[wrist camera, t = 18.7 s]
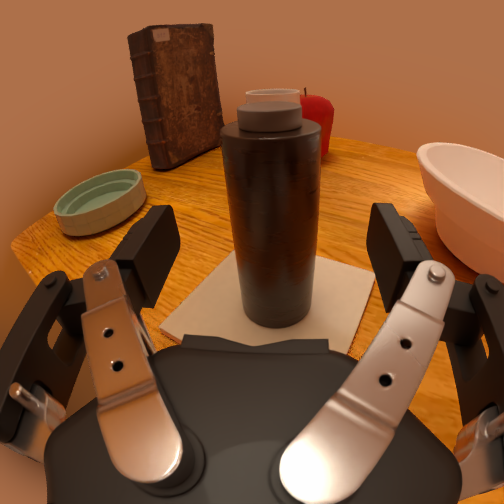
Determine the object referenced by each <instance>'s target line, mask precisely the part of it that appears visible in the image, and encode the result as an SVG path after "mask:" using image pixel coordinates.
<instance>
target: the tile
mask: <svg viewBox="0 0 504 504" xmlns="http://www.w3.org/2000/svg"><path fill="white" fill-rule="evenodd" d="M374 281H375V273H374V272H371V271H368V270H364V269H361V268H358V267H354V266H351V265H347V264H344V263H341V262H337V261H334V260H331V259H327V258H324V257H320V256H317V255H316V259H315V270H314V281H313V291H312V300H311V307H310V310H309V312H308V314H307V315H306V316H305V317H304V318H303V319H302V320H301V321H300V322H298V323H297V324H295V325H292V326H290V327H286V328H277V329H274V328H267V327H263V326H260V325H258V324H256V323H254V322H253V321H252V320H250V318H249V317H248V316H247V315H246V314H245V312H244V309H243V304H242V298H241V291H240V284H239V277H238V270H237V262H236V255H235V249H234V250H233V251H232V252H231V253H230V254H229V255H228V256H227V257H226V258H225V259H224V260H223V261H222V262H221V263H220V264H219V265H218V266H217V267H216V268H215V269H214V270H213V271H212V272H211V273H210V274H209V275H208V276H207V277H206V278H205V279H204V280H203V281H202V282H201V283H200V284H199V285H198V286H197V287H196V289H195V290H194V291H193V292H192V293H191V294H190V295H189V296H188V297H187V298H186V299H185V300H184V301H183V302H182V303H181V304H180V305H179V306H178V307H177V308H176V309H175V310H174V311H173V312H172V313H171V314H170V315H169V316H168V317H167V318H166V319H165V320H164V321H163V322H162V323H161V324H160V325H159V329H160V331H161V333H162V334H164V335H166V336H167V337H169V338H170V339H172V340H174V341H176V342H177V343H179V344H181V342H182V339H183V336H184V334H190V335H203V336H218V337H221V338H224V339H228V340H231V341H235V342H239V343H242V344H246V345H250V346H259V345H264V344H270V343H275V342H280V341H285V340H290V339H329V349H330V350H335V351H338V352H341V353H344V354H346V355H347V353H348V351H349V349H350V346H351V344H352V341H353V339H354V336H355V334H356V331H357V329H358V326H359V323H360V321H361V318H362V315H363V313H364V310H365V307H366V304H367V302H368V299H369V296H370V293H371V290H372V287H373V284H374Z"/></svg>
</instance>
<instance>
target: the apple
mask: <svg viewBox="0 0 504 504" xmlns="http://www.w3.org/2000/svg"><path fill="white" fill-rule="evenodd" d="M304 91H305V95H300V105H301V106H302V118H303V119H308V120H311V121H314V122H316V123H318V124H319V125H320V126H321V158H322V157H323V156H324V155H325V154H327V153H328V148H329V139H330V134H331V129H332V124H333V116H334V108H333V106H332V104H331V103H330V101H329V100H326V99H325V98H323V97H320V96H315V95H306V88H304Z"/></svg>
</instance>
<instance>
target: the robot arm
mask: <svg viewBox="0 0 504 504" xmlns="http://www.w3.org/2000/svg"><path fill="white" fill-rule="evenodd" d="M366 245H367V252H368V255H369V258H370V261H371V264H372V267H373V270H374V273H375V277H376V280H377V283H378V286H379V290H380V293H381V297H382V300H383V304H384V307H385V311H386V313H390V314H389V315H388V317H387V319H386V320H385V322H384V323H383V325H382V327H381V328H380V330H379V332H378V333H377V335H376V336H375V338H374V339H373V341H372V343H371V344H370V346H369V347H368V349H367V350H366V352H365V353H364V355H363V356H362V357H361V359H360V360H359V361H357V360H356V359H354V358H352V357H351V356H348V355H346V354H344V353H341V352H338V351H335V350H330V349H329V339H290V340H285V341H280V342H275V343H270V344H264V345H259V346H250V345H246V344H242V343H239V342H235V341H231V340H228V339H224V338H221V337H218V336H203V335H190V334H184V336H183V339H182V342H181V344H179V345H175V346H170V347H167V348H165V349H162V350H160V351H158V352H157V351H156V349H155V347H154V344H153V342H152V340H151V337H150V335H149V332H148V330H147V327H146V325H145V322H144V320H143V317H142V315H141V313H140V311H141V309H142V307H144V308H154V306H155V304H156V302H157V299H158V297H159V295H160V292H161V290H162V288H163V285H164V283H165V281H166V279H167V276H168V274H169V272H170V270H171V267H172V265H173V263H174V261H175V259H176V256H177V254H178V252H179V249H180V235H179V231H178V227H177V224H176V220H175V216H174V211H173V208H172V207H171V205H160V206H152V207H151V208H150V210H149V211H148V213H147V214H146V215H145V217H144V218H141V219H140V220H139V221H137V222H136V223H135V224H134V225H132V227H131V228H130V230H129V231H128V232H127V234H126V235H125V237H124V238H123V240H122V241H121V242H120V244H119V245H118V246H117V248H116V249H115V251H114V252H113V254H112V255H111V257H110V258H109V259H107V260H101V261H99V262H96V263H94V264H93V265H91V266H90V267H89V268H88V269H87V270H86V271H85V273H84V275H83V278H79V279H75V280H71V281H69V279H68V277H67V275H66V274H65V272H63V271H55V272H52V273H50V274H48V275H47V276H46V277H45V278H43V279H42V281H41V282H40V283H39V285H38V286H37V288H36V289H35V291H34V292H33V294H32V296H31V297H30V299H29V300H28V302H27V303H26V305H25V307H24V308H23V310H22V312H21V313H20V315H19V317H18V319H17V320H16V322H15V324H14V326H13V327H12V329H11V331H10V333H9V334H8V336H7V338H6V340H5V342H4V344H3V346H2V348H1V350H0V443H1V444H3V445H4V446H6V447H8V448H9V449H11V450H13V451H15V452H17V453H19V454H21V455H23V456H27V457H28V458H30V459H33V460H34V461H37V462H39V463H42V464H44V467H45V473H46V481H47V504H457V503H458V501H460V500H463V499H466V498H469V497H471V496H474V495H477V494H483V493H486V492H489V491H492V490H495V489H498V488H501V487H503V486H504V285H503V284H502V283H501V282H500V281H499V280H498V279H497V278H495V277H493V276H491V275H488V274H480V275H478V276H477V277H476V279H475V281H474V283H473V285H472V284H468V283H464V282H460V281H457V280H455V277H454V275H453V273H452V271H451V270H450V269H449V268H448V267H447V266H445V265H444V264H442V263H440V262H437V261H434V260H433V258H432V256H431V254H430V253H429V251H428V249H427V247H426V245H425V244H424V242H423V240H421V237H420V235H419V233H417V230H416V228H415V227H414V225H413V223H411V222H410V221H409V220H408V219H406V218H405V217H404V216H399V214H398V213H397V211H396V209H395V208H394V206H393V204H391V203H373V205H372V208H371V214H370V220H369V226H368V232H367V240H366ZM55 320H57V321H58V322H59V324H60V325H61V326H62V328H63V329H62V330H61V332H60V334H59V336H58V339H57V341H56V343H55V345H54V347H53V349H51V348H50V347H49V345H48V341H47V337H48V333H49V331H50V329H51V327H52V325H53V323H54V322H55ZM483 334H484V335H485V338H486V341H487V344H488V347H489V357H488V359H487V356H486V352H485V349H484V346H483V343H482V340H481V337H482V336H483ZM438 341H444V342H446V346H447V349H448V353H449V357H450V361H451V365H452V370H453V374H454V378H455V383H456V388H457V393H458V399H459V404H460V411H461V417H462V424H463V428H462V429H461V430H460V432H459V434H458V436H457V440H456V445H455V447H454V450H453V453H454V455H453V453H452V452H451V451H450V450H449V449H448V448H447V447H446V446H445V445H444V444H443V443H442V442H441V441H440V440H439V439H438V438H437V437H436V436H435V435H434V434H433V433H432V432H431V431H430V430H429V429H428V428H427V427H426V426H425V425H424V424H423V423H422V422H421V421H420V420H419V419H418V418H417V417H416V416H415V415H414V414H413V413H412V412H411V411H410V410H409V409H408V407H409V405H410V403H411V401H412V399H413V397H414V395H415V393H416V391H417V389H418V387H419V385H420V383H421V381H422V379H423V377H424V374H425V372H426V370H427V368H428V365H429V363H430V361H431V358H432V356H433V354H434V351H435V349H436V346H437V344H438ZM86 353H87V357H88V362H89V367H90V371H91V376H92V380H93V384H94V388H95V392H96V396H97V397H96V398H94V399H93V400H92V401H90V402H89V403H88V404H87V405H85V406H84V407H82V408H81V409H80V410H78V411H77V412H76V413H74V414H73V415H72V416H70V417H69V418H68V419H66V411H65V410H66V407H67V404H68V401H69V398H70V396H71V393H72V390H73V387H74V384H75V382H76V378H77V376H78V374H79V371H80V368H81V366H82V363H83V361H84V358H85V356H86Z"/></svg>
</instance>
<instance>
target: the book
mask: <svg viewBox="0 0 504 504" xmlns="http://www.w3.org/2000/svg"><path fill="white" fill-rule="evenodd" d="M127 38H128V44H129V49H130V56H131V57H130V59H131V61H132V67H133V73H134V81H135V84H136V90H137V96H138V102H139V106H140V111H141V116H142V123H143V125H144V130H145V135H146V143H147V145H148V150H149V155H150V159H151V164H152V167H153V168H156V169H169V168H173V167H176V166H178V165H180V164H182V163H184V162H186V161H187V160H189V159H191V158H193V157H195V156H197V155H199V154H200V153H202V152H205V151H207V150H209V149H212V148H215V147H217V146H220V145H221V140H220V129H221V128H222V127H223V126H225V125H224V123H223V117H222V108H221V103H220V96H219V88H218V81H217V73H216V65H215V56H214V55H215V53H214V46H213V44H214V34H213V25H212V24H204V23H201V24H176V25H153V26H147V27H146V28H143V29H142V30H140V31H138V32H135V33H132V34H130V35H129V36H128V37H127Z"/></svg>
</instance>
